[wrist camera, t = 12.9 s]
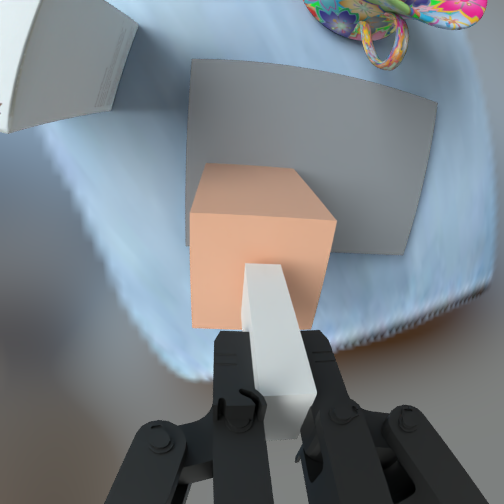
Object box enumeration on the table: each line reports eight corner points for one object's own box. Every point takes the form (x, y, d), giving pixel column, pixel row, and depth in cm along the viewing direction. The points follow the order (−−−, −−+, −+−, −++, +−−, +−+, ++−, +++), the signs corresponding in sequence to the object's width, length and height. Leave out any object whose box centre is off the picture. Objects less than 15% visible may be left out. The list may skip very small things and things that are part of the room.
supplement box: (142, 23, 16) (61, -35, 5) (112, 113, 19) (7, 140, 8) (63, 16, 15) (-42, -12, 4) (38, 100, 18) (-76, 126, 7)
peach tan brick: (205, 163, 21) (189, 212, 12) (293, 168, 21) (337, 221, 13) (203, 242, 24) (192, 327, 15) (282, 245, 24) (311, 329, 16)
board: (194, 61, 18) (191, 59, 17) (427, 101, 20) (437, 102, 19) (187, 237, 25) (185, 246, 24) (395, 247, 27) (402, 255, 26)
